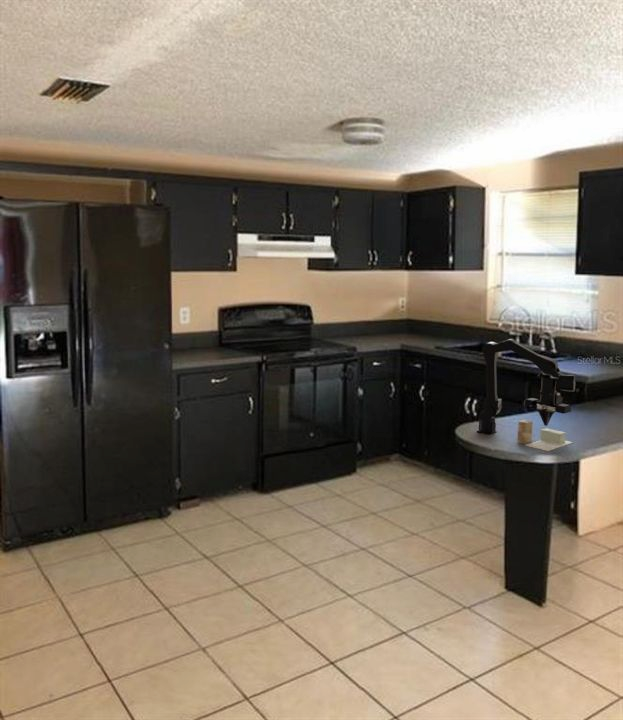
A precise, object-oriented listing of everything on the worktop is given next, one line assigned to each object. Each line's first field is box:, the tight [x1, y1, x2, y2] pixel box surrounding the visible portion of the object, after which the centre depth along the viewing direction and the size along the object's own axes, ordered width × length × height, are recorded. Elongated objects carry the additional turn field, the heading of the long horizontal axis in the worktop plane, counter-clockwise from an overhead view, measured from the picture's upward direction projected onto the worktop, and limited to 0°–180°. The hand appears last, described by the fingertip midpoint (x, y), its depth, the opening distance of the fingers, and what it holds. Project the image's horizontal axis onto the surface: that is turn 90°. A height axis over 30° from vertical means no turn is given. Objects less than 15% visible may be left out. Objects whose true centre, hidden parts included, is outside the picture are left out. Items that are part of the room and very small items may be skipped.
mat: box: [524, 439, 574, 452], centre depth 284 cm, size 10×19×1 cm, turn 131°
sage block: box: [539, 427, 567, 443], centre depth 288 cm, size 4×4×9 cm
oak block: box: [517, 419, 533, 445], centre depth 286 cm, size 4×4×9 cm
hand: (545, 425), depth 290 cm, fingers closed
